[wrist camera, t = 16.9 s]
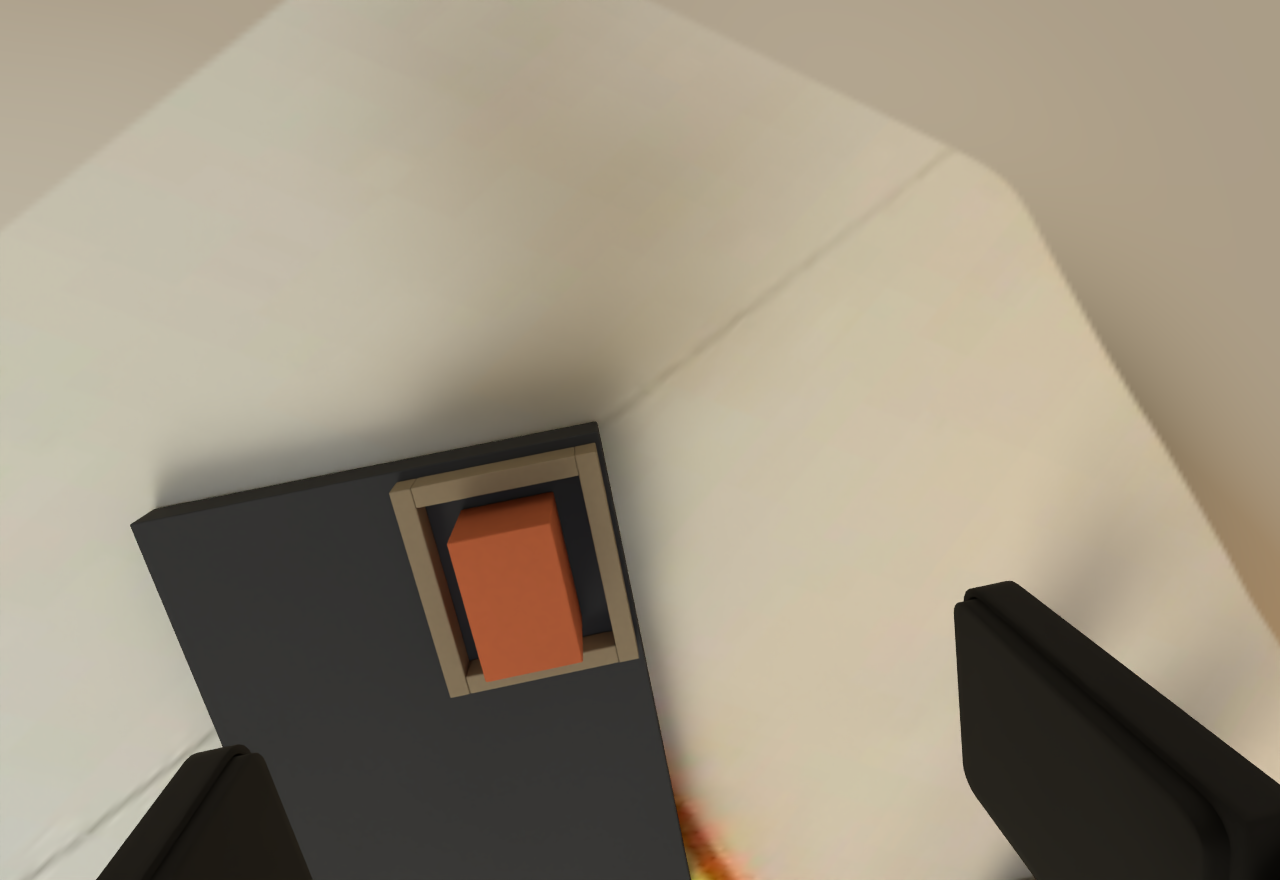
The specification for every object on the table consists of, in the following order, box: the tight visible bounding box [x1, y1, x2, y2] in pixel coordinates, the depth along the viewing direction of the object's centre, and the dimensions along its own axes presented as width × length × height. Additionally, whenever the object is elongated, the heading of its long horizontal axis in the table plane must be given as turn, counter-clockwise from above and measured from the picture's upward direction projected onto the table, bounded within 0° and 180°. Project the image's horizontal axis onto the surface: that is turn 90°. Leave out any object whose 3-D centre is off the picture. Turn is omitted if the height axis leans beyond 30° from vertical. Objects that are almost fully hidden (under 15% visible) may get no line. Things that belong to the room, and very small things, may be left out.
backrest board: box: [130, 422, 691, 880], centre depth 37 cm, size 30×22×4 cm
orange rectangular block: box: [447, 492, 583, 682], centre depth 33 cm, size 7×4×4 cm, turn 10°
